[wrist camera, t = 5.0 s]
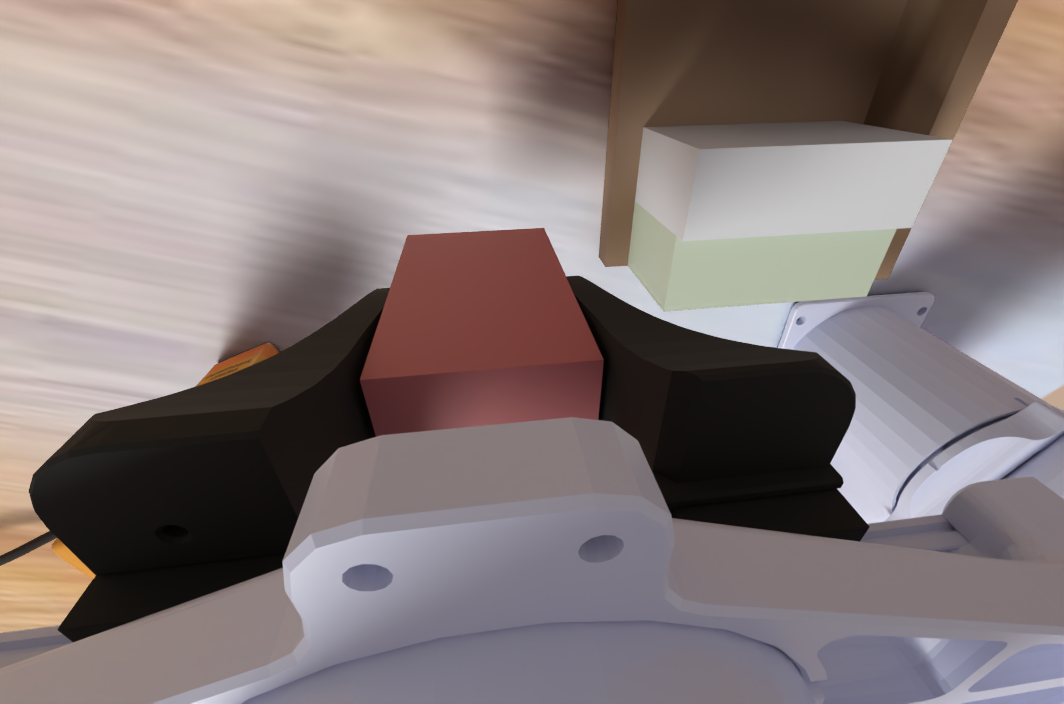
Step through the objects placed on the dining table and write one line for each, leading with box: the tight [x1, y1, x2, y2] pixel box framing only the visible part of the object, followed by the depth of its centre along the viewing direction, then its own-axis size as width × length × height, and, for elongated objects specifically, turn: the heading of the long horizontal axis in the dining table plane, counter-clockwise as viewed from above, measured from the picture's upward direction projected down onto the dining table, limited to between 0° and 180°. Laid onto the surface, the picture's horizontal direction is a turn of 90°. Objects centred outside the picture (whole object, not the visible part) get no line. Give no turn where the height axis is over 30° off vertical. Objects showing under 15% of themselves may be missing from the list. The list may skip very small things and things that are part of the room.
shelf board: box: [599, 0, 1018, 280], centre depth 15 cm, size 16×11×4 cm
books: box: [628, 121, 953, 311], centre depth 16 cm, size 6×8×5 cm
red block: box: [360, 228, 604, 437], centre depth 11 cm, size 3×4×7 cm
